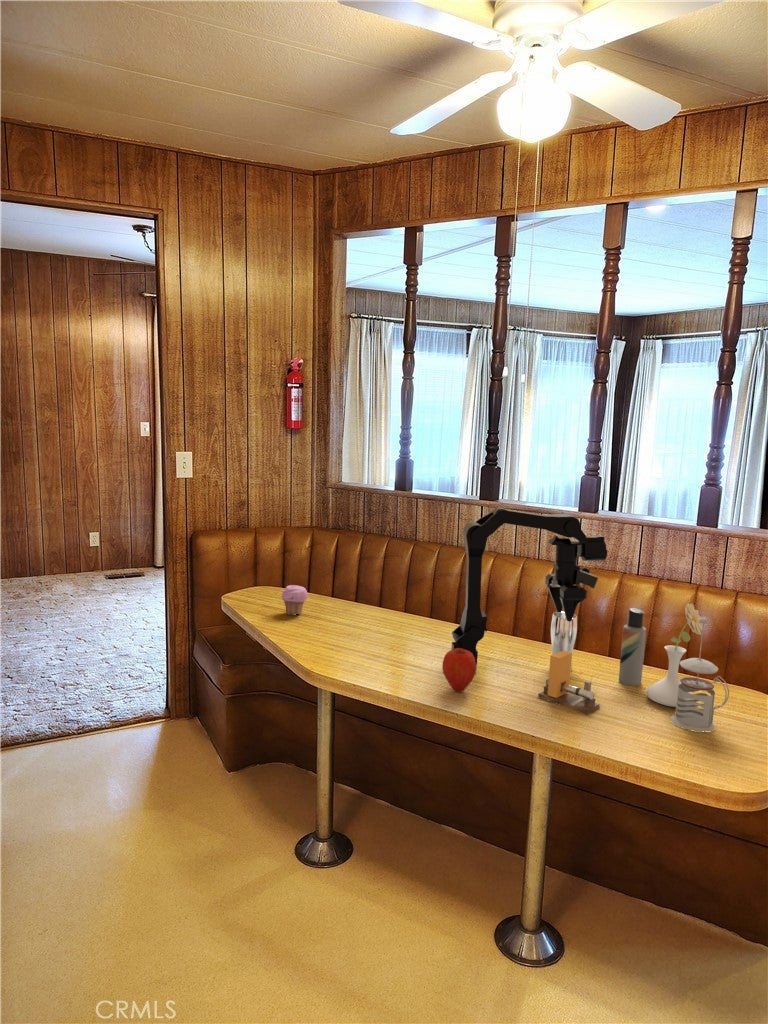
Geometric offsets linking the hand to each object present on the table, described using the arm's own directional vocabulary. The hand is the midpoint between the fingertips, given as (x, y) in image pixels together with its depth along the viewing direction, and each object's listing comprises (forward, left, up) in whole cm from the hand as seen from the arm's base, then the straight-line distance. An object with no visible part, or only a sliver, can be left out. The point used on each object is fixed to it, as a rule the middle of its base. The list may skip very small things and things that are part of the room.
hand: (564, 616), depth 189 cm
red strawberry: (-32, -16, -15) cm, 39 cm away
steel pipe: (-6, -23, -12) cm, 27 cm away
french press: (+20, -35, -15) cm, 43 cm away
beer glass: (+1, +2, -15) cm, 15 cm away
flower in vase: (+21, -22, -15) cm, 34 cm away
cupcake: (-75, +51, -15) cm, 92 cm away
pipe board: (-6, -23, -15) cm, 29 cm away
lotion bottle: (+16, -9, -15) cm, 24 cm away
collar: (-8, -21, -14) cm, 26 cm away
